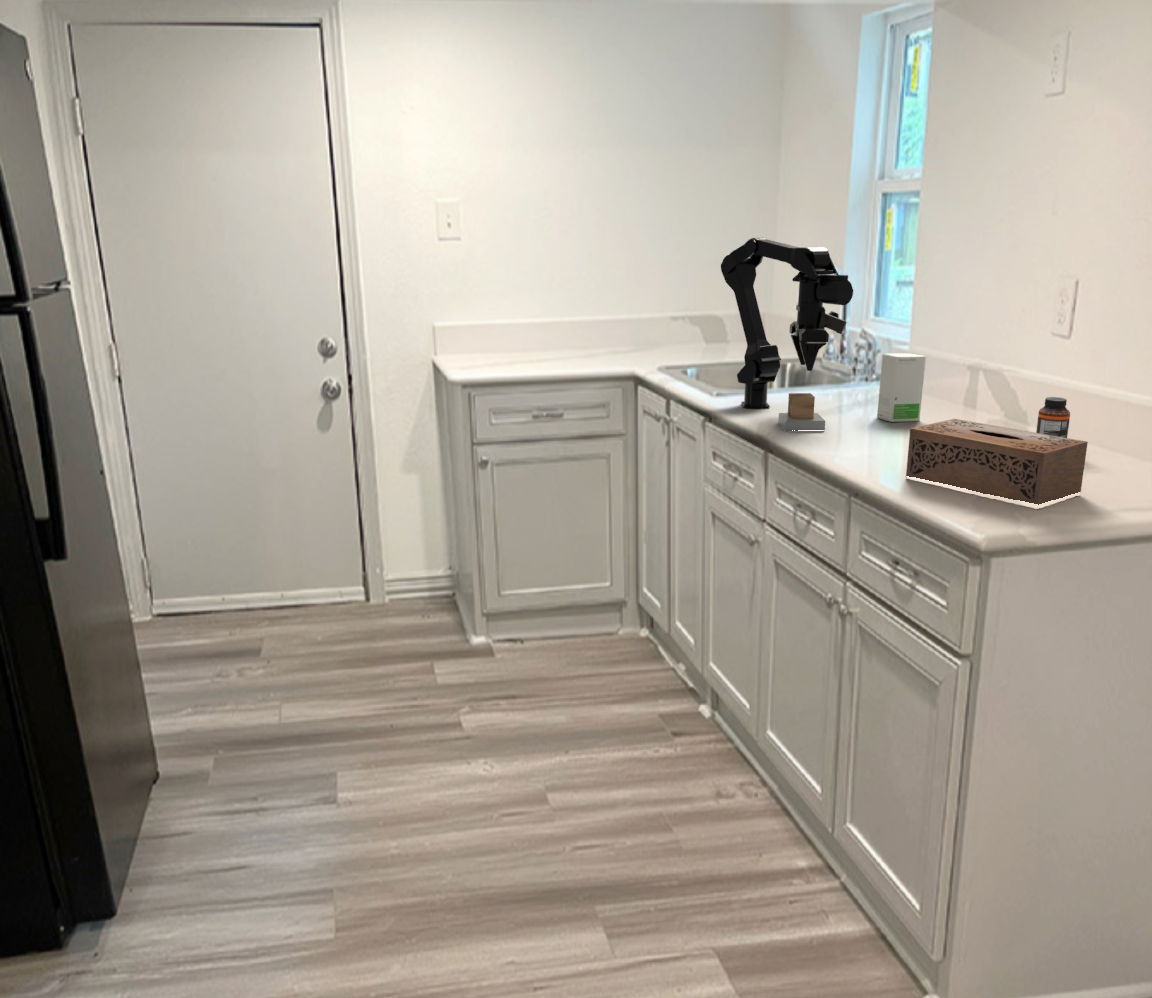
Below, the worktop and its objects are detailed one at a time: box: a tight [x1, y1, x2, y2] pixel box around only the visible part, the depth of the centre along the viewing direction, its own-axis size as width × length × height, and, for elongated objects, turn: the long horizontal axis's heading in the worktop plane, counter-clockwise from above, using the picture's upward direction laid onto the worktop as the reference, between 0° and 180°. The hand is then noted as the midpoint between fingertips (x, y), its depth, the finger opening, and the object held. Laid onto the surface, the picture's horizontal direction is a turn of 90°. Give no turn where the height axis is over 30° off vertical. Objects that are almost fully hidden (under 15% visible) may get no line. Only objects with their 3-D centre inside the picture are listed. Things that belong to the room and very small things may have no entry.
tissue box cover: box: [905, 418, 1089, 505], centre depth 184 cm, size 26×14×10 cm, turn 38°
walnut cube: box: [787, 392, 816, 419], centre depth 234 cm, size 5×5×5 cm
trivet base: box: [778, 412, 826, 432], centre depth 235 cm, size 9×9×3 cm
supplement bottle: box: [1035, 396, 1071, 438], centre depth 209 cm, size 6×6×11 cm
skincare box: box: [876, 353, 927, 423], centre depth 242 cm, size 8×7×16 cm
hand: (806, 367), depth 245 cm, fingers open, 9 cm apart
